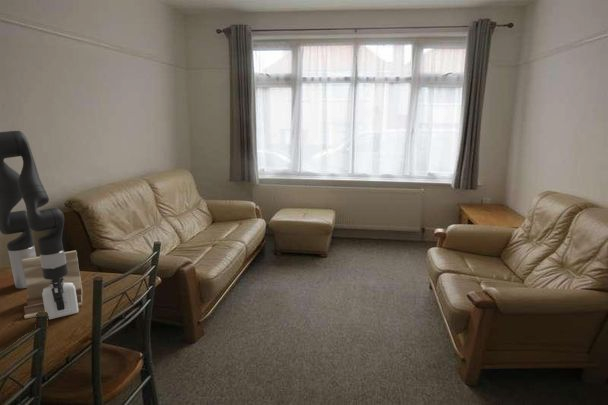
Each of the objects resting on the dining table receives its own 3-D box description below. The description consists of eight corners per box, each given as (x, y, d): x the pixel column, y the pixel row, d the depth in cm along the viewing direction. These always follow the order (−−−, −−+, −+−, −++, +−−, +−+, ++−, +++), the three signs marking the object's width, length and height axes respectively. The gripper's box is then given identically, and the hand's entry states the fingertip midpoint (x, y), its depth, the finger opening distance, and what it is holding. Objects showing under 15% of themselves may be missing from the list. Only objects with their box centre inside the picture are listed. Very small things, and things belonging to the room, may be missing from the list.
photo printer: (78, 308, 141) (73, 278, 138) (79, 313, 137) (74, 282, 135) (46, 316, 135) (40, 285, 133) (46, 321, 132) (40, 289, 129)
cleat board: (30, 300, 147) (22, 258, 143) (82, 290, 156) (76, 250, 152) (24, 318, 134) (15, 273, 130) (81, 306, 143) (74, 262, 139)
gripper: (43, 259, 136) (51, 301, 140) (39, 272, 124) (47, 318, 128) (67, 255, 140) (74, 296, 143) (65, 268, 128) (72, 312, 131)
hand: (61, 306), depth 136 cm, fingers closed on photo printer, 4 cm apart
